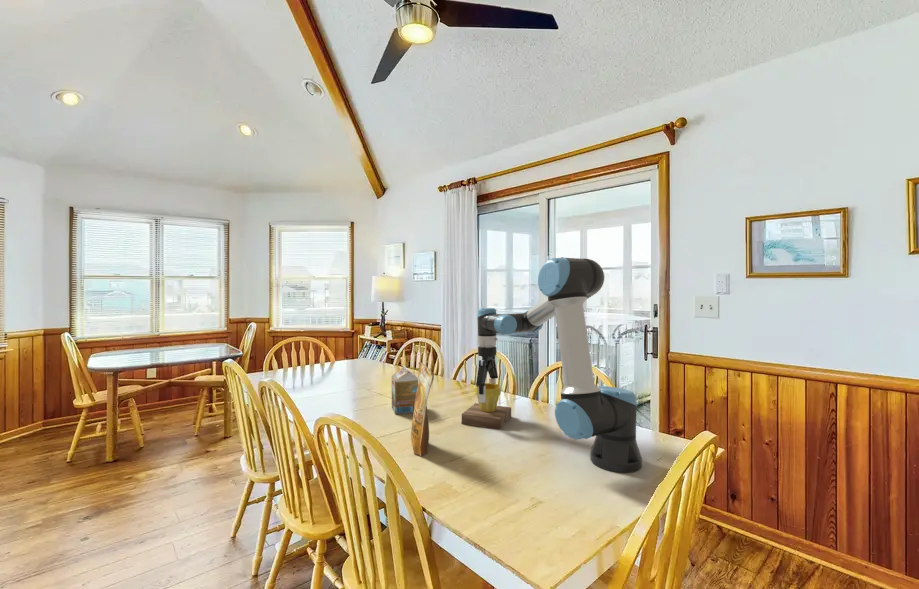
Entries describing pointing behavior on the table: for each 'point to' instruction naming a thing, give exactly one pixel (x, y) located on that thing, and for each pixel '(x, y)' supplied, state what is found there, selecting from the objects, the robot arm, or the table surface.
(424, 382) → the pancake mix bag
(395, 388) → the milk carton
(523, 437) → the table surface
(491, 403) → the plant pot
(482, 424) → the block
